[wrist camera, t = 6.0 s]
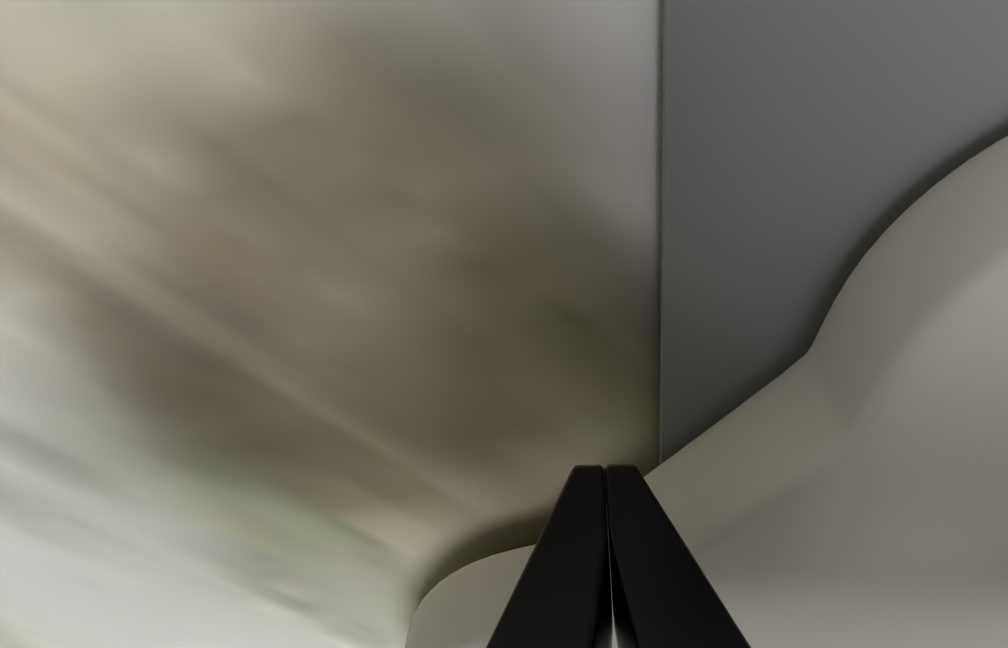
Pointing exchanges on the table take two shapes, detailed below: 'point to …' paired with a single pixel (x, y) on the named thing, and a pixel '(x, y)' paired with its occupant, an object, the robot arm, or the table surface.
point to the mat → (799, 169)
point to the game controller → (848, 459)
